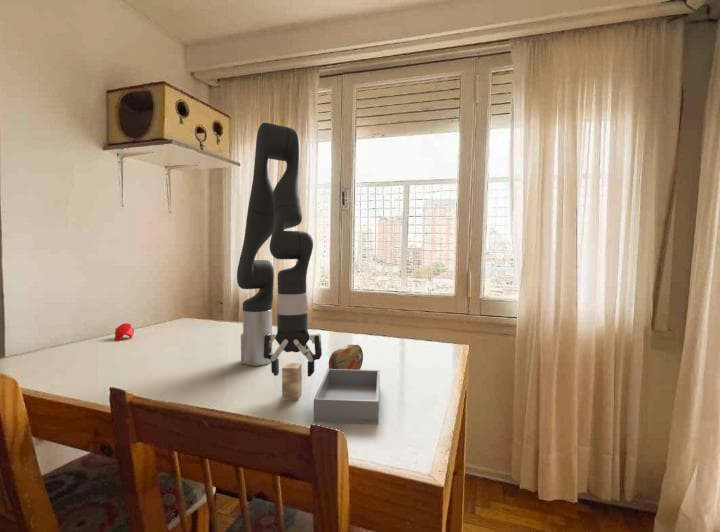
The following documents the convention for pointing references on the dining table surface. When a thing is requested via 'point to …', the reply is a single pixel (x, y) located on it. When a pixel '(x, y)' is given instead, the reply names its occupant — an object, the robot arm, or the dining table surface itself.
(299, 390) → the wooden block
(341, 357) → the tin
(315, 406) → the bin
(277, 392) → the dining table surface
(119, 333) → the cap
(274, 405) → the dining table surface
